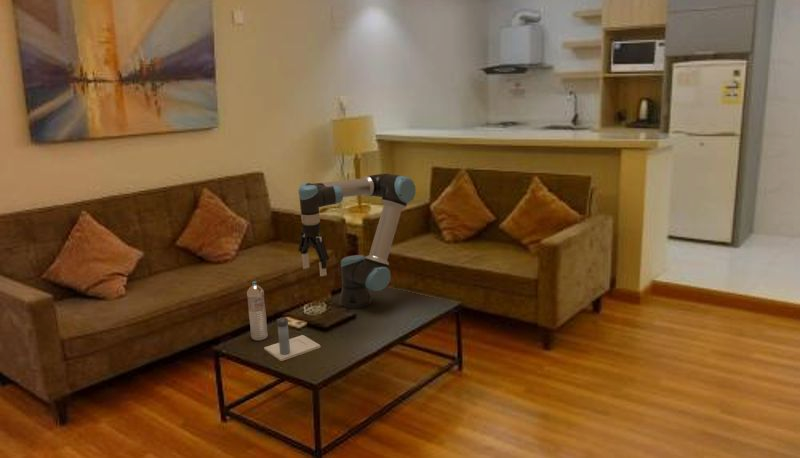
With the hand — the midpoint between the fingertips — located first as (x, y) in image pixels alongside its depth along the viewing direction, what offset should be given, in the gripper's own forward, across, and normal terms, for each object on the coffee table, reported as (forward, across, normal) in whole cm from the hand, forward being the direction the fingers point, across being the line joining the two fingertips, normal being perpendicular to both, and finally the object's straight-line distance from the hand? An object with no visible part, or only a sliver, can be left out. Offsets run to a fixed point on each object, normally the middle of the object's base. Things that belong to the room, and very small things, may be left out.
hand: (314, 271), depth 264 cm
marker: (+25, +12, -23) cm, 36 cm away
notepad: (+26, +9, -18) cm, 33 cm away
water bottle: (+26, -10, -23) cm, 37 cm away
